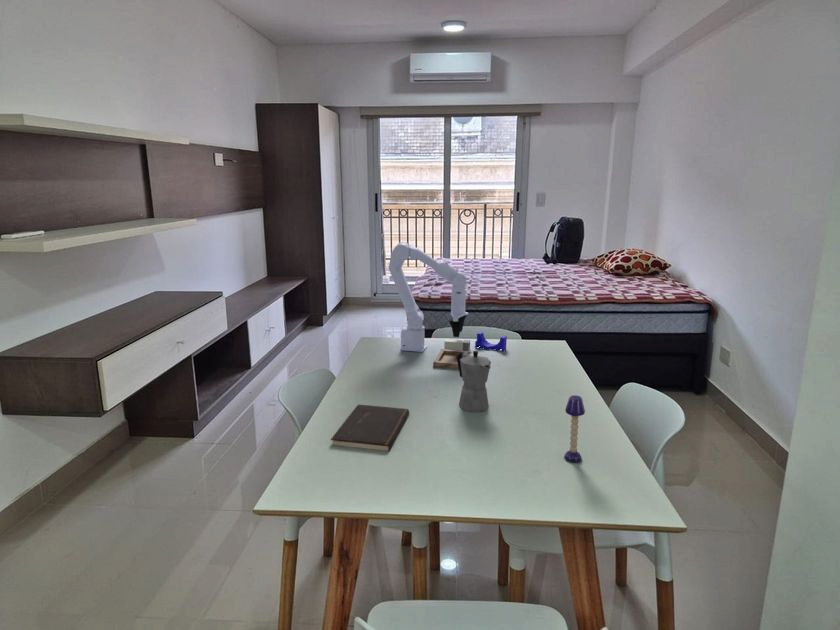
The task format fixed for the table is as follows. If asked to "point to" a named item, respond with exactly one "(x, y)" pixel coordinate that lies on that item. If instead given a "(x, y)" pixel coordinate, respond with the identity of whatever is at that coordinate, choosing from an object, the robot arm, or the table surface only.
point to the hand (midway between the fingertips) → (457, 334)
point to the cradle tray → (447, 359)
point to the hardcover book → (371, 427)
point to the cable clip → (486, 345)
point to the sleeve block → (457, 344)
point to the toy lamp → (574, 426)
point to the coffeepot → (473, 381)
